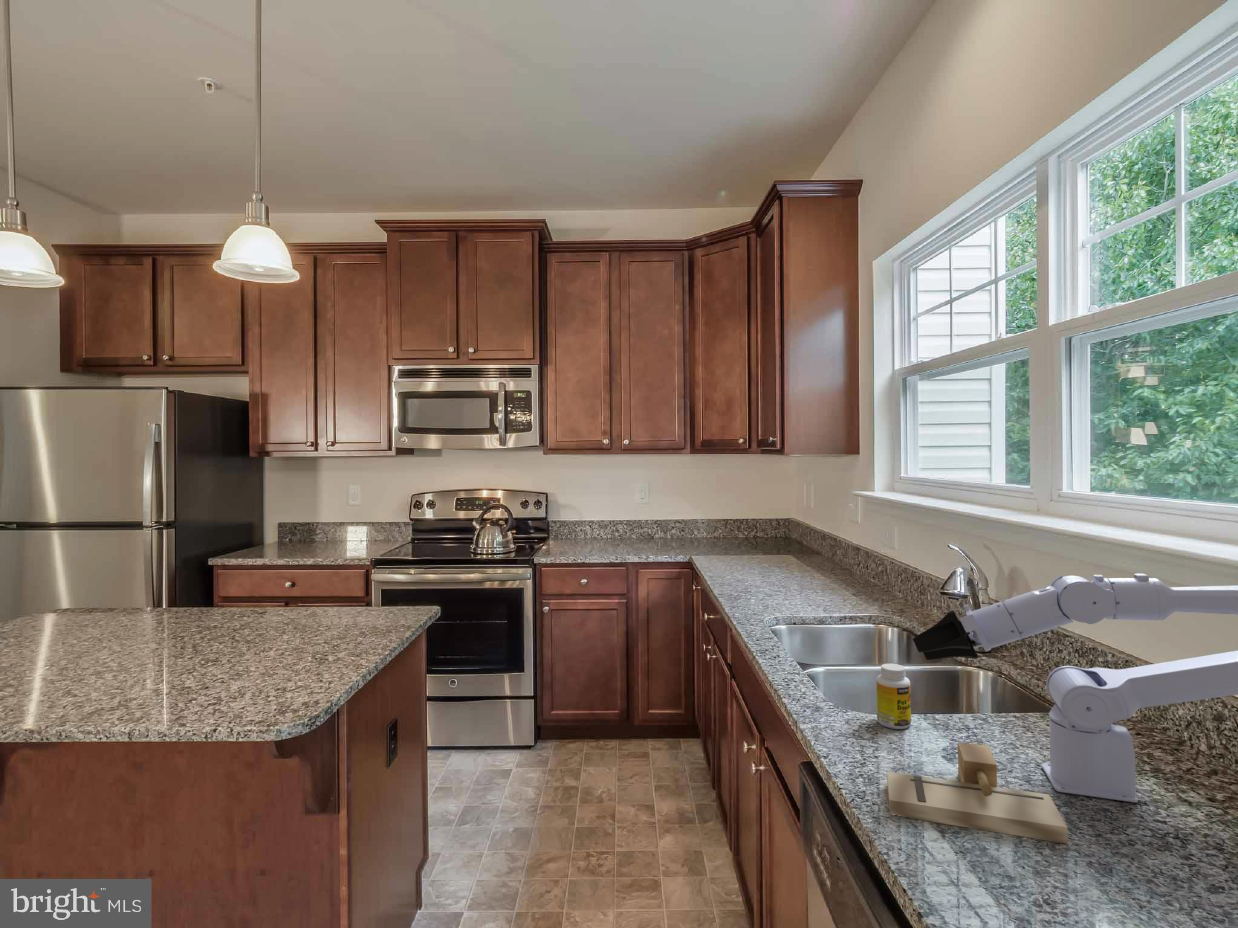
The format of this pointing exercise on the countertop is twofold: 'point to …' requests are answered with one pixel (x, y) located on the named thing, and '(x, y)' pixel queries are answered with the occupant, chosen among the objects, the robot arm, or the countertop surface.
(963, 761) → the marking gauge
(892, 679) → the supplement bottle
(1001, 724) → the countertop surface
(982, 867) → the countertop surface
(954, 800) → the maple board
